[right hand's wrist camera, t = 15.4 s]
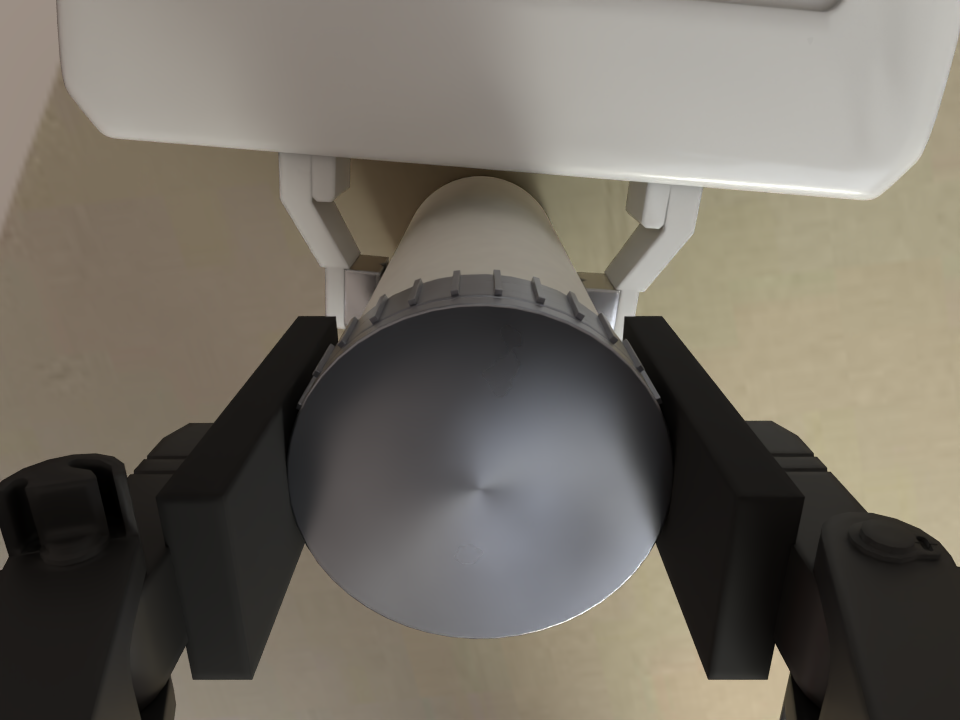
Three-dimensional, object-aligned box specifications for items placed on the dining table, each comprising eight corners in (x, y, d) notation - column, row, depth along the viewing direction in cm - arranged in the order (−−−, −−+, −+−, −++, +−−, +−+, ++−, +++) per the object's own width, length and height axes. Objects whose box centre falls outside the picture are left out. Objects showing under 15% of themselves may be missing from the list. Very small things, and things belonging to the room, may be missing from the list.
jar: (568, 307, 26) (676, 580, 11) (426, 338, 26) (362, 637, 12) (539, 159, 24) (628, 267, 9) (387, 195, 24) (253, 351, 10)
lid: (674, 544, 13) (701, 607, 11) (363, 602, 13) (347, 670, 12) (626, 230, 10) (651, 254, 9) (256, 313, 11) (220, 350, 9)
